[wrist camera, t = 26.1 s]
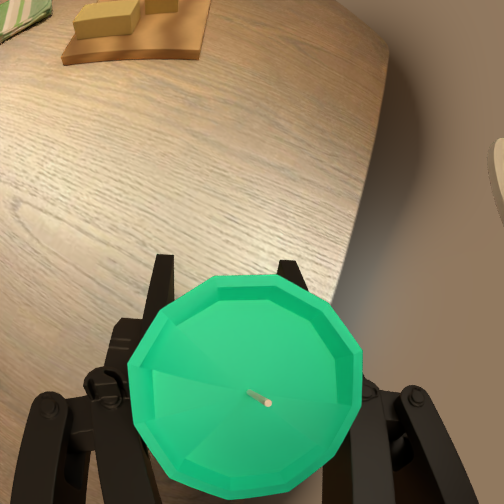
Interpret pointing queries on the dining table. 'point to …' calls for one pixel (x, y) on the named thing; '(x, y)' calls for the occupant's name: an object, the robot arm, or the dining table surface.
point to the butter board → (148, 37)
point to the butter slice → (161, 6)
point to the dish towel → (21, 15)
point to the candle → (245, 386)
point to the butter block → (107, 19)
